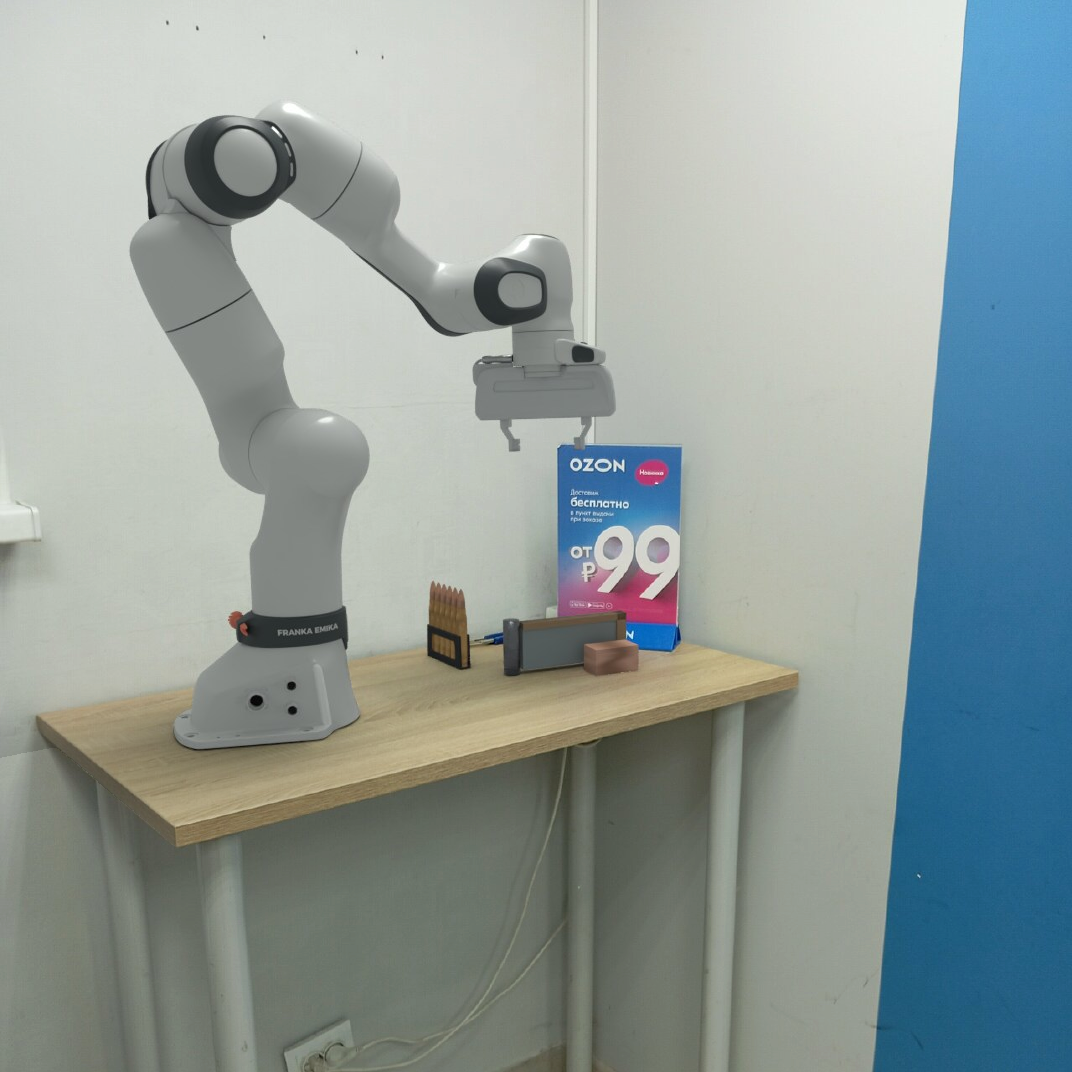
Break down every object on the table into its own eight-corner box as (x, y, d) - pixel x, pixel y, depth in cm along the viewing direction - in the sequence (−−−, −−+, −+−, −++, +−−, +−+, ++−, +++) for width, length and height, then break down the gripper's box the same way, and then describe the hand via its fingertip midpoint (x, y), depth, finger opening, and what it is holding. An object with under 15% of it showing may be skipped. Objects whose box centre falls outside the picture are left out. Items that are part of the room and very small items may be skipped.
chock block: (596, 677, 148) (596, 650, 147) (583, 670, 152) (583, 644, 151) (638, 671, 151) (638, 645, 150) (625, 665, 154) (625, 639, 154)
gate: (524, 670, 149) (523, 623, 148) (518, 667, 151) (517, 621, 150) (626, 657, 156) (626, 612, 155) (620, 654, 158) (620, 610, 157)
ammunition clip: (471, 668, 153) (469, 589, 152) (460, 670, 152) (458, 590, 151) (437, 653, 162) (435, 579, 160) (426, 655, 161) (424, 580, 159)
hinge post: (507, 676, 148) (506, 622, 147) (501, 672, 150) (500, 619, 149) (522, 674, 149) (521, 620, 148) (516, 670, 151) (515, 617, 150)
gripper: (467, 355, 144) (472, 454, 146) (613, 350, 141) (615, 450, 143) (475, 356, 150) (480, 450, 152) (615, 351, 147) (617, 447, 149)
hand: (547, 450), depth 148 cm, fingers open, 8 cm apart
